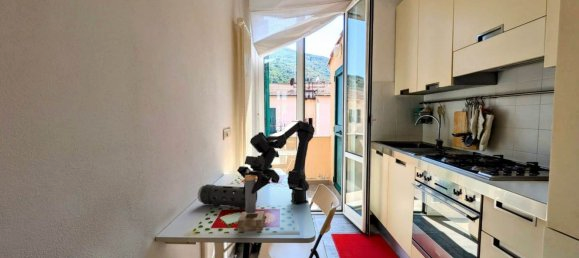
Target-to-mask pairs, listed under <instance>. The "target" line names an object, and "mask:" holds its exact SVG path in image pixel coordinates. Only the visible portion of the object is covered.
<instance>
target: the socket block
mask: <svg viewBox="0 0 579 258" xmlns="http://www.w3.org/2000/svg"><path fill="white" fill-rule="evenodd" d="M265 215H266V212H265V211H263V210H259V211H257V210H256V212H255V213H246V211H242V212H241V216H240V217H239V219H238V222H237V230H238V232H244V231H247V232H250V231H256V232H257V231H263V229H264V226H265V222H266V219H265V217H266V216H265Z"/></svg>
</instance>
